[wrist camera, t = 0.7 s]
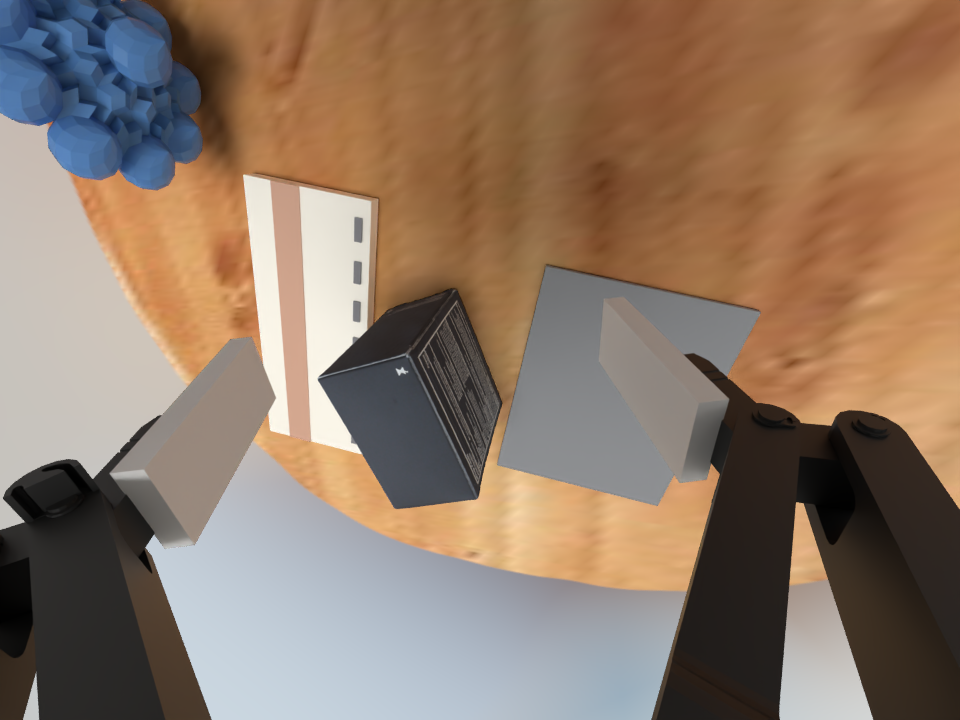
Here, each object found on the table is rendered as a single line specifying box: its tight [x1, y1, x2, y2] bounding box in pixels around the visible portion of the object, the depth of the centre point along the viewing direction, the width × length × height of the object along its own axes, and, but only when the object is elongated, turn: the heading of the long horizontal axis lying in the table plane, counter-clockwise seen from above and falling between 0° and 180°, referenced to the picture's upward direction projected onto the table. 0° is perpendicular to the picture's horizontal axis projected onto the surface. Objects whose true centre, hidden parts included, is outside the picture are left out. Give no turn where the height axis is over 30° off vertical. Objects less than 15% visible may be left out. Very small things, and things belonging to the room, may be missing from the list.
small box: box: [317, 289, 502, 509], centre depth 29 cm, size 11×6×10 cm, turn 21°
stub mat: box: [497, 265, 761, 506], centre depth 32 cm, size 18×14×1 cm
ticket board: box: [243, 173, 379, 454], centre depth 33 cm, size 22×9×1 cm, turn 170°
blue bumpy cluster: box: [0, 0, 203, 190], centre depth 22 cm, size 12×7×12 cm, turn 15°
